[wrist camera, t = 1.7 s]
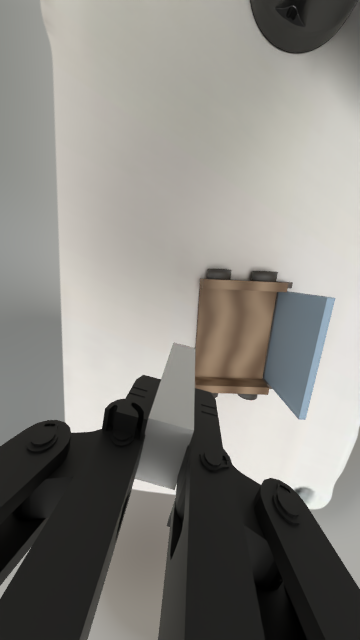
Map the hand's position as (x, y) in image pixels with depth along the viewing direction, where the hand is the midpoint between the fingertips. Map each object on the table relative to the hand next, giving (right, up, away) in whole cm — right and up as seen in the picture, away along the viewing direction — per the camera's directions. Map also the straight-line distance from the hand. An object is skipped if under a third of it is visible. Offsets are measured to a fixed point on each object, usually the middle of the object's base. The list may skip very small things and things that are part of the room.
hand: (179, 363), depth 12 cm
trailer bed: (+11, 0, +24) cm, 27 cm away
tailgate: (+18, 0, +23) cm, 30 cm away
